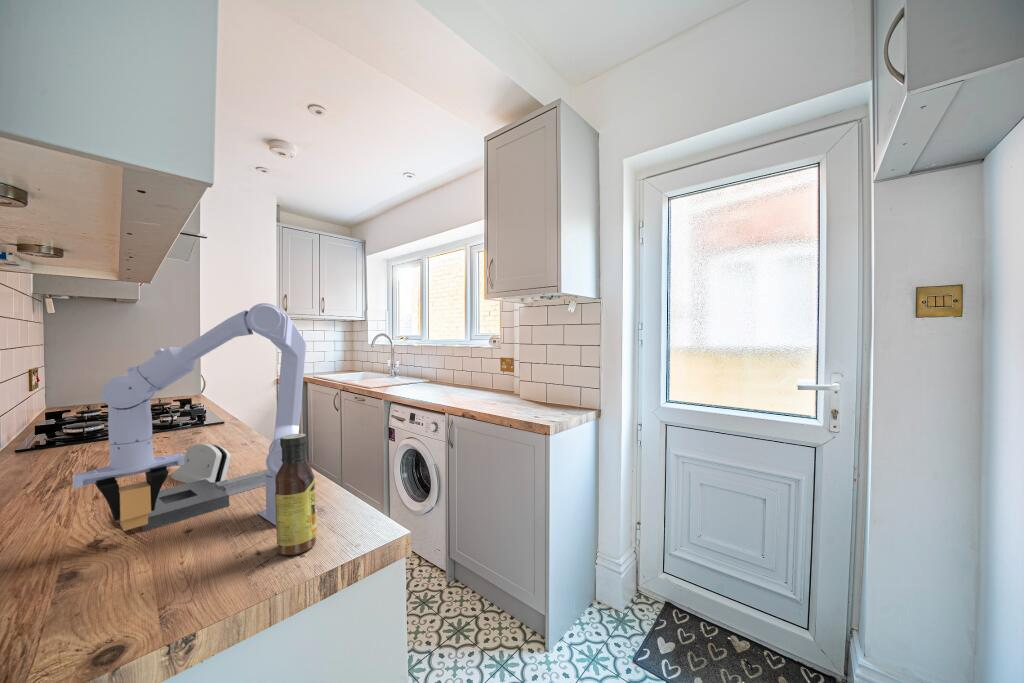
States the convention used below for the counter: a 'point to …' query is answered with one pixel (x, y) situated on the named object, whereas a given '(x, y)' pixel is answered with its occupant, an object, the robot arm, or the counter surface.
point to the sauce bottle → (295, 498)
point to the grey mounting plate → (198, 498)
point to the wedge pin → (134, 505)
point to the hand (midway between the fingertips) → (134, 514)
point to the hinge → (203, 464)
